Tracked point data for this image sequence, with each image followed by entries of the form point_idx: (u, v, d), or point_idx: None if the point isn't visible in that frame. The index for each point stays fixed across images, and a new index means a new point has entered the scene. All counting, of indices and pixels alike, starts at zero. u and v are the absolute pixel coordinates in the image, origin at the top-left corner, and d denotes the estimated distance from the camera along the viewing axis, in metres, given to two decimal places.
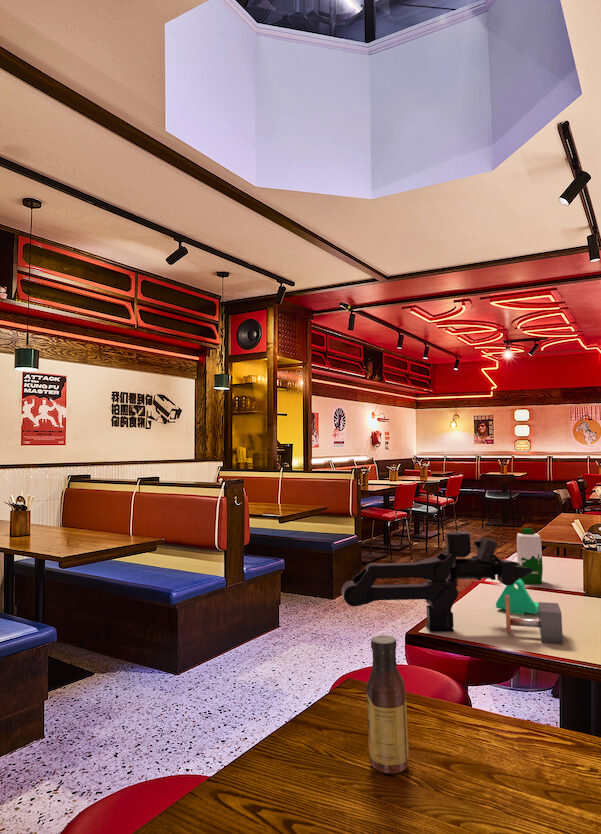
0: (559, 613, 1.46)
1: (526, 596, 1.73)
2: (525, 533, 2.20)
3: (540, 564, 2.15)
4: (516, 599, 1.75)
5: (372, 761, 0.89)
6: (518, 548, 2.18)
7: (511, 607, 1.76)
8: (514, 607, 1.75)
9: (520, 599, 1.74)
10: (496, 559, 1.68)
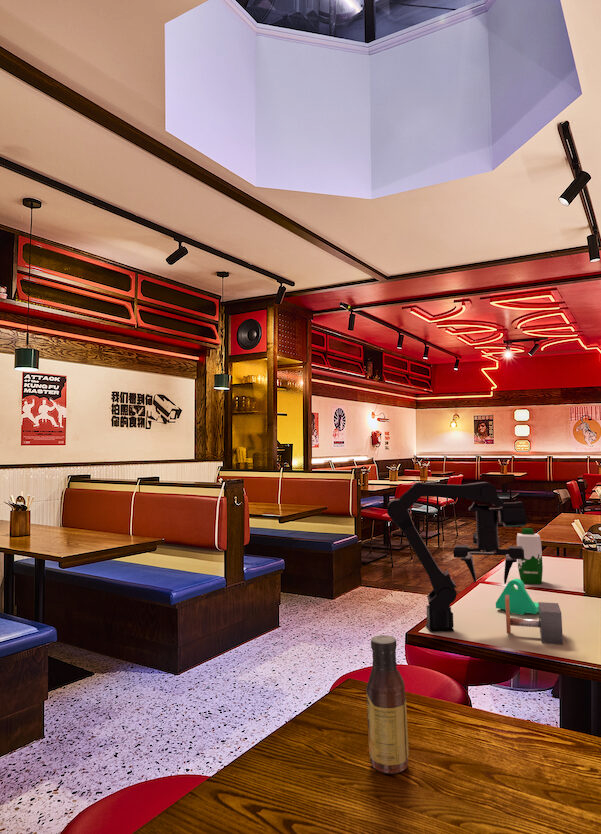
0: (559, 613, 1.46)
1: (526, 596, 1.73)
2: (525, 533, 2.20)
3: (540, 564, 2.15)
4: (516, 599, 1.75)
5: (372, 761, 0.89)
6: None
7: (511, 608, 1.76)
8: (513, 607, 1.75)
9: (520, 599, 1.74)
10: (472, 559, 1.63)
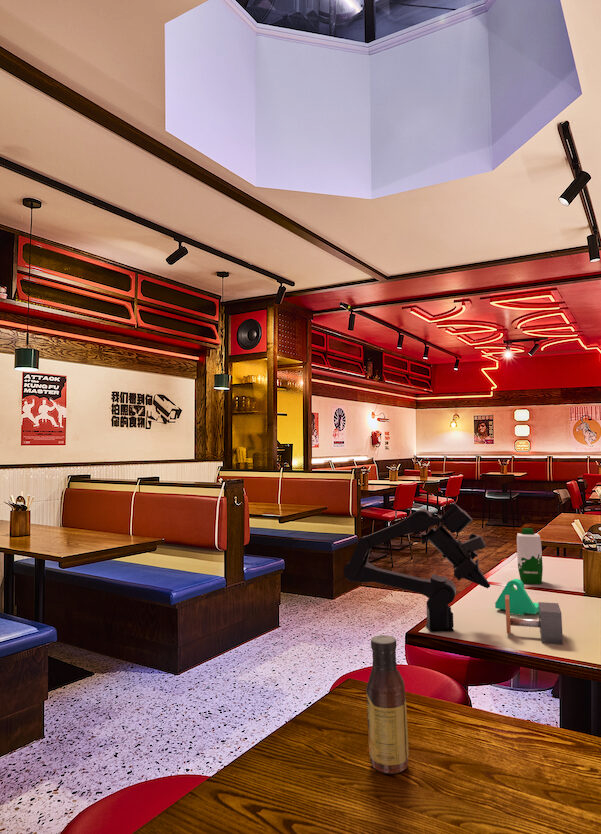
0: (559, 613, 1.46)
1: (525, 596, 1.73)
2: (525, 533, 2.20)
3: (540, 564, 2.15)
4: (515, 599, 1.75)
5: (372, 761, 0.89)
6: (518, 548, 2.18)
7: (510, 608, 1.75)
8: (513, 607, 1.75)
9: (519, 599, 1.74)
10: None
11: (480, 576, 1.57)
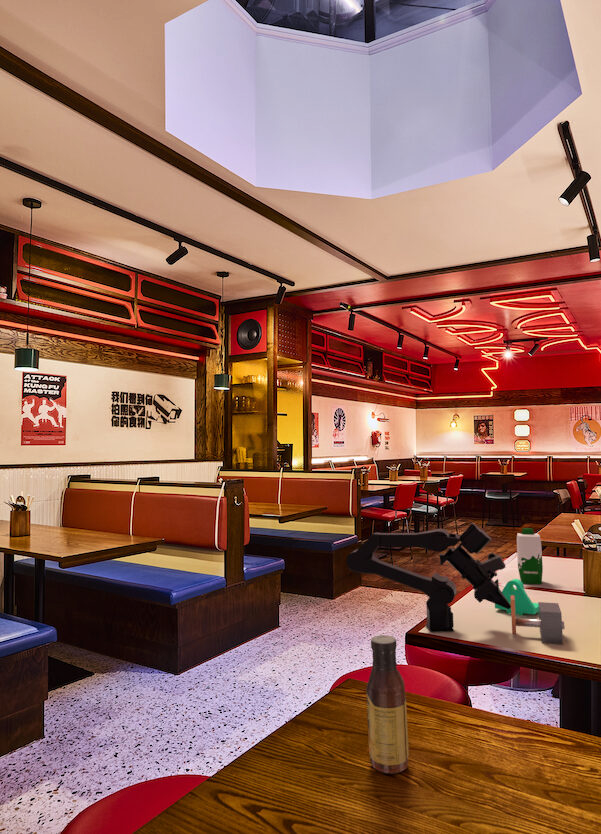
0: (559, 613, 1.46)
1: (524, 597, 1.73)
2: (525, 533, 2.20)
3: (540, 564, 2.15)
4: None
5: (372, 761, 0.89)
6: (518, 548, 2.18)
7: (510, 608, 1.75)
8: None
9: (519, 599, 1.74)
10: None
11: (501, 597, 1.55)
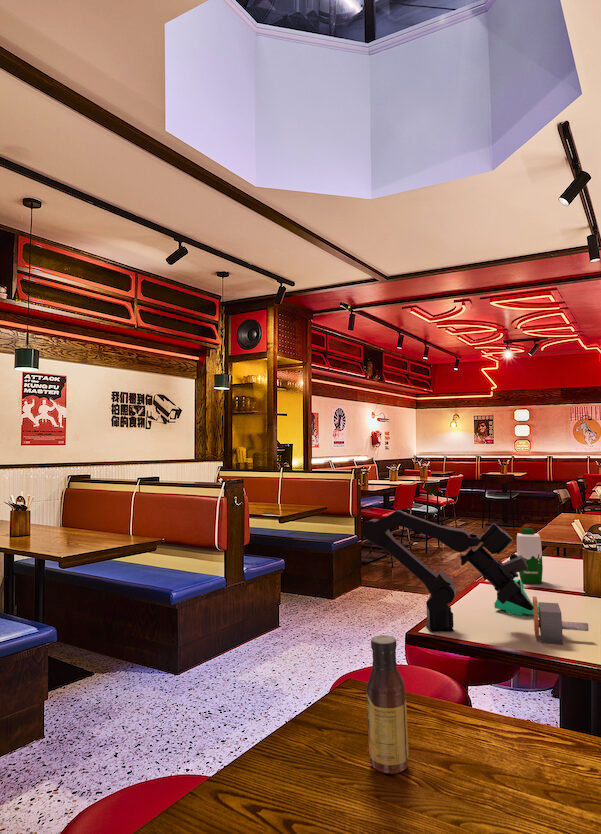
0: (559, 613, 1.46)
1: None
2: (525, 533, 2.20)
3: (540, 564, 2.15)
4: None
5: (372, 761, 0.89)
6: (518, 548, 2.18)
7: (509, 608, 1.75)
8: (512, 607, 1.75)
9: None
10: None
11: (523, 598, 1.53)
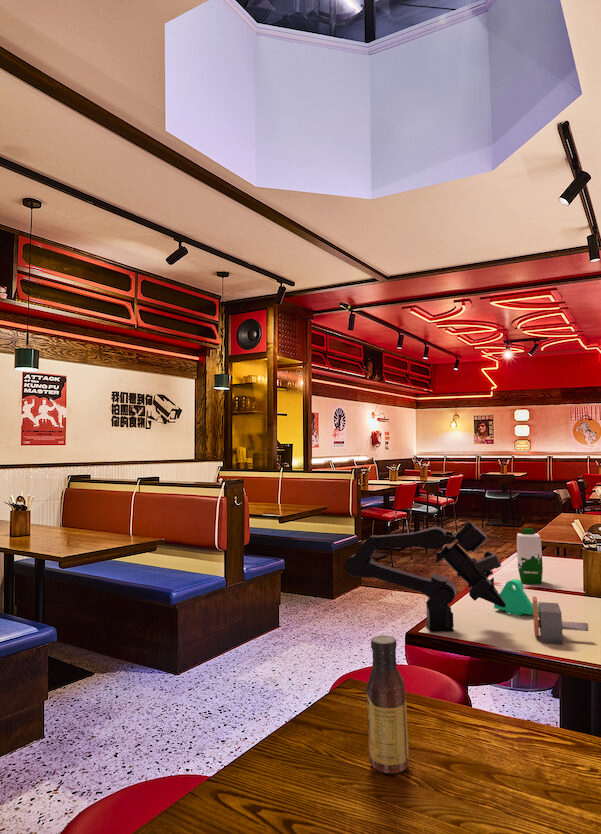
0: (559, 613, 1.46)
1: (523, 597, 1.72)
2: (525, 533, 2.20)
3: (540, 564, 2.15)
4: (514, 600, 1.74)
5: (372, 761, 0.89)
6: (518, 548, 2.18)
7: (509, 608, 1.75)
8: (512, 607, 1.75)
9: (518, 600, 1.73)
10: None
11: (496, 595, 1.55)
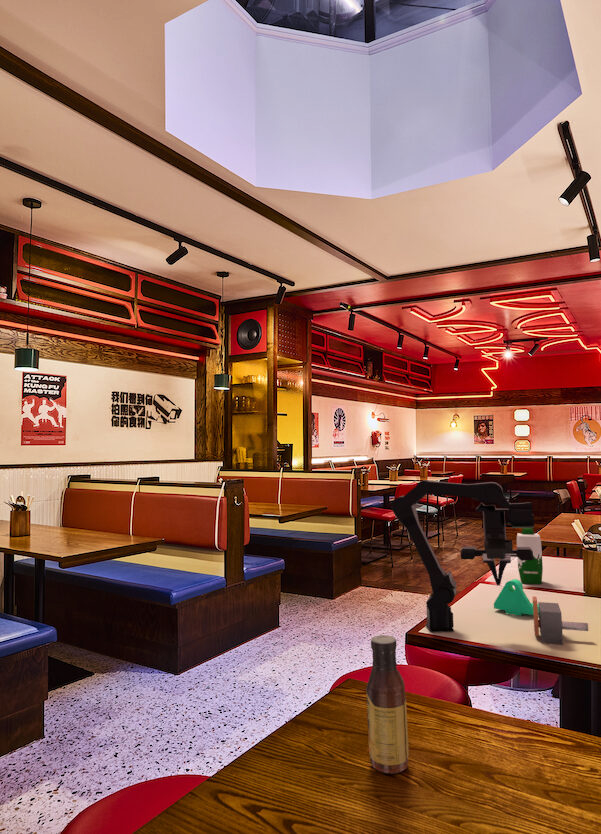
0: (559, 613, 1.46)
1: (523, 597, 1.72)
2: (525, 533, 2.20)
3: (540, 564, 2.15)
4: (513, 600, 1.74)
5: (372, 761, 0.89)
6: None
7: (508, 608, 1.75)
8: (511, 608, 1.74)
9: (517, 600, 1.73)
10: (499, 563, 1.55)
11: (492, 571, 1.57)
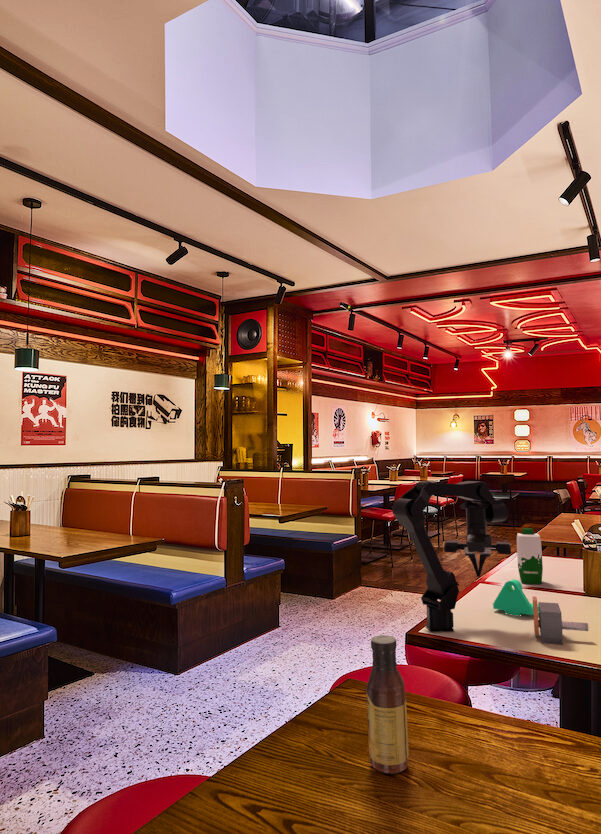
0: (559, 613, 1.46)
1: (522, 597, 1.72)
2: (525, 533, 2.20)
3: (540, 564, 2.15)
4: (512, 600, 1.74)
5: (372, 761, 0.89)
6: (518, 548, 2.18)
7: (508, 608, 1.75)
8: (510, 608, 1.74)
9: (516, 600, 1.73)
10: None
11: None
